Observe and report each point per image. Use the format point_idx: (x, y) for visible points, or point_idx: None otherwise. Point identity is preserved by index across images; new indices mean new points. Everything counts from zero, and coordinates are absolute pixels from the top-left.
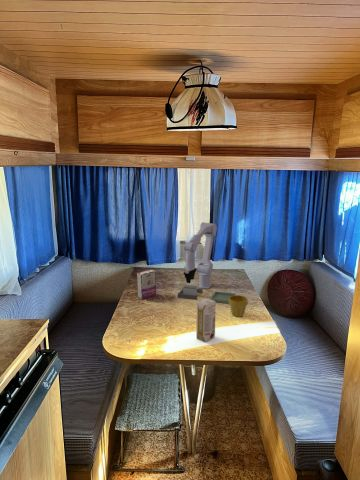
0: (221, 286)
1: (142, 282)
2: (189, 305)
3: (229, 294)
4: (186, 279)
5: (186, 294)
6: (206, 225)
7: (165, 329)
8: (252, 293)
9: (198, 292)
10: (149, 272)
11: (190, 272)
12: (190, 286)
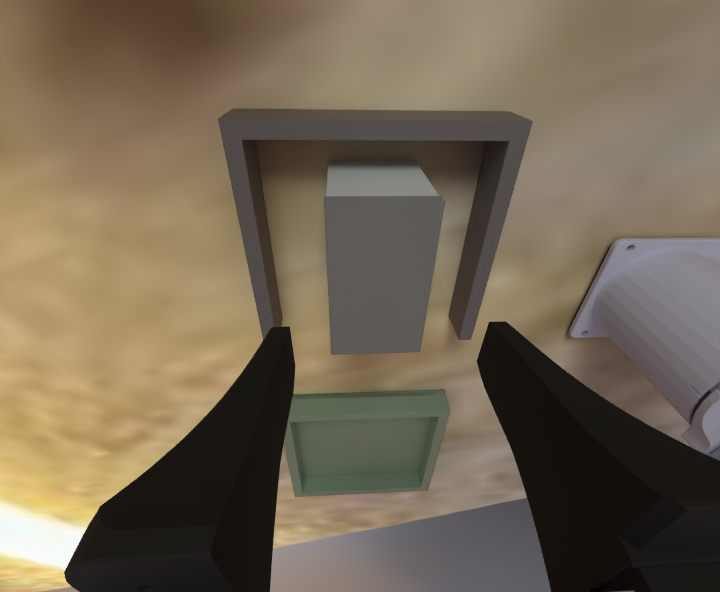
0: (622, 389)
1: None
2: (105, 301)
3: (423, 463)
4: (246, 380)
5: (253, 244)
6: None
7: None
8: (486, 505)
9: (455, 287)
10: None
11: (562, 445)
12: (378, 293)
